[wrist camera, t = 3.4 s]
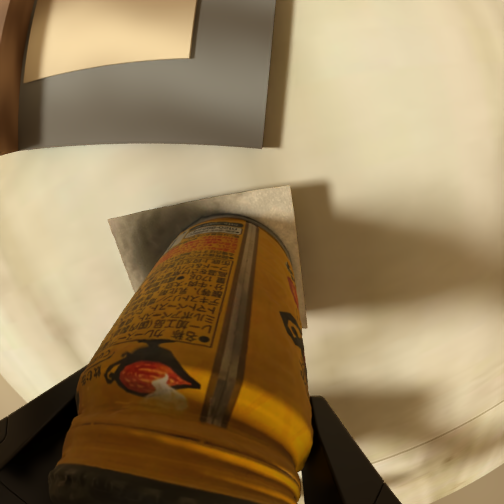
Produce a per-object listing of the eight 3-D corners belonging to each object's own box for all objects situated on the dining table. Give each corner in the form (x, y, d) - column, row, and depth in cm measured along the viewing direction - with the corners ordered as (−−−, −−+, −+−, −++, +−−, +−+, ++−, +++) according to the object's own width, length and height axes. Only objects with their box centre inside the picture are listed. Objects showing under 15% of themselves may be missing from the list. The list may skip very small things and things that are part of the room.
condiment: (307, 325, 15) (332, 568, 4) (154, 339, 16) (73, 533, 5) (289, 183, 13) (369, 502, 2) (110, 217, 14) (-85, 393, 3)
